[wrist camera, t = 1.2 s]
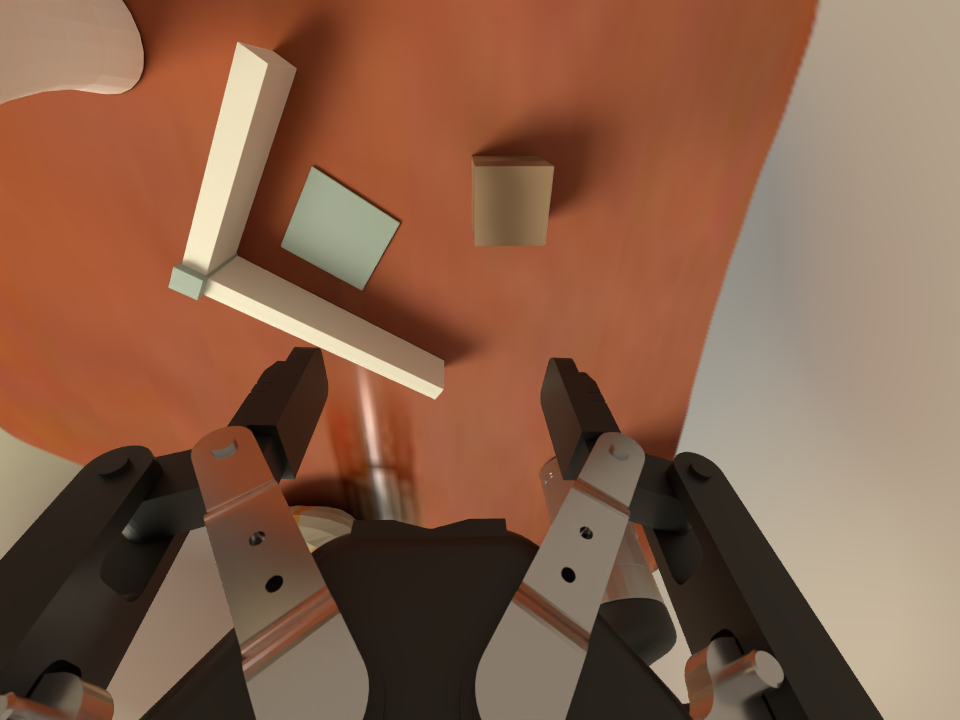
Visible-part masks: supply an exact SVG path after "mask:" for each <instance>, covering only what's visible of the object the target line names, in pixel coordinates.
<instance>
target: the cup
mask: <svg viewBox="0 0 960 720" xmlns="http://www.w3.org/2000/svg"><path fill="white" fill-rule="evenodd" d="M143 65H144V51H143V47H142V42H141V38H140V33H139V31H138V29H137V27H136V24H135V22H134V20H133V17H132V15H131V13H130V11H129V10H128V8H127V7H126V5H125V4H124V2H123V0H0V105H1V104H3V103H5V102H7V101H9V100H13V99H17V98H21V97H24V96H28V95H32V94H36V93H40V92H44V91H56V90H68V89H74V90H81V91H88V92H95V93H102V94H120V93H123V92H125V91H127V90H130V89H131V88H132V87H133V86H134V85H135V84H136V83H137V82H138V81H139V79H140V76H141V73H142V70H143Z"/></svg>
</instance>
